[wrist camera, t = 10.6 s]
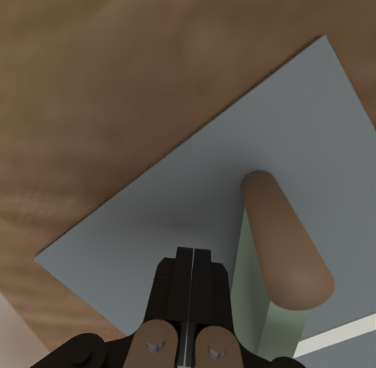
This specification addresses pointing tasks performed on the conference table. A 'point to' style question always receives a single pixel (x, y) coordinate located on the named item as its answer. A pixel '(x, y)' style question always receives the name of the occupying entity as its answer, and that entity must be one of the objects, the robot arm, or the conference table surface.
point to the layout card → (234, 206)
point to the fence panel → (274, 272)
